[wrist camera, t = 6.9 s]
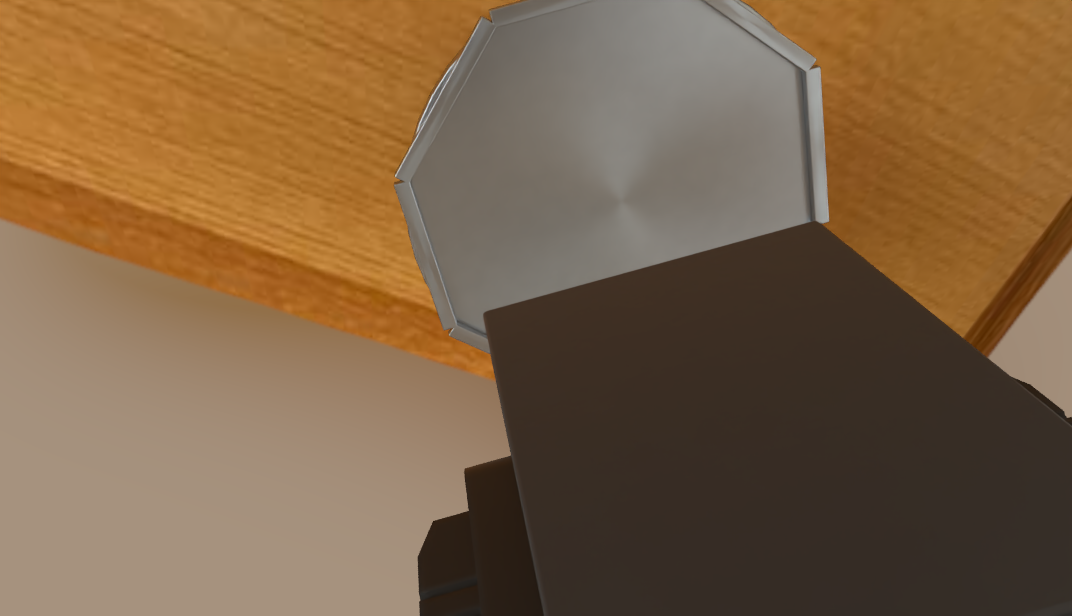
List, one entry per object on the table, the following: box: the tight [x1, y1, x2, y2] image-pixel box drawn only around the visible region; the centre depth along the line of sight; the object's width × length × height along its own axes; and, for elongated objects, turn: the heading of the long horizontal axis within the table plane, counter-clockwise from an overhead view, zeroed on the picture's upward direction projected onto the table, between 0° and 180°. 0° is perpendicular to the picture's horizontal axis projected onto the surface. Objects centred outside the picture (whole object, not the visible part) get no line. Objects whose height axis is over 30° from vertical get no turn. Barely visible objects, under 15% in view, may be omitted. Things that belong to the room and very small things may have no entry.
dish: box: [394, 0, 829, 354], centre depth 31 cm, size 14×14×11 cm
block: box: [483, 221, 1072, 616], centre depth 9 cm, size 4×4×6 cm
